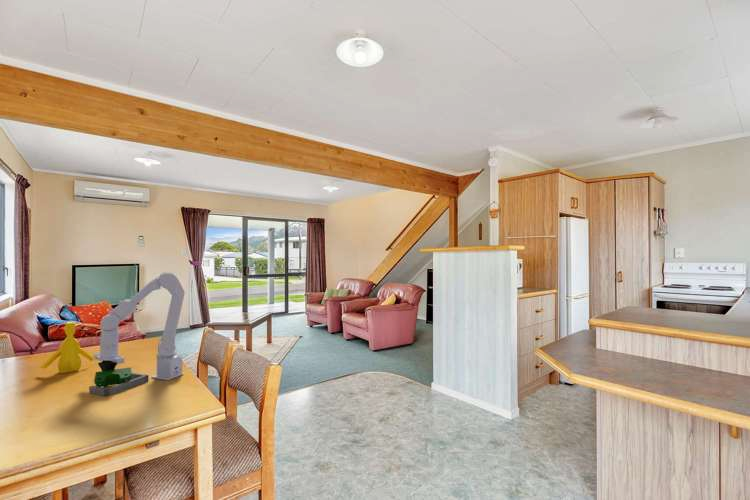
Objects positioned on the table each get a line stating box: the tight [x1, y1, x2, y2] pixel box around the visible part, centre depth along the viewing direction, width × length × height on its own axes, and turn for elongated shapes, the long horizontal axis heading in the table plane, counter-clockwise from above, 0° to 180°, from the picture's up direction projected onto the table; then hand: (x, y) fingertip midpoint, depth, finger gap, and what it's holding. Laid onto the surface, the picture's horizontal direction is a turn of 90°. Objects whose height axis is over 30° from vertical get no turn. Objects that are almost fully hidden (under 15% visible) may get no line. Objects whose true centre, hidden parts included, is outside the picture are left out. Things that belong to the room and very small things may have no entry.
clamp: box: [93, 367, 132, 388], centre depth 136 cm, size 12×6×9 cm, turn 114°
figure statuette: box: [41, 321, 95, 374], centre depth 154 cm, size 18×8×22 cm, turn 135°
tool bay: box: [88, 371, 149, 398], centre depth 137 cm, size 9×16×2 cm, turn 161°
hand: (108, 379), depth 138 cm, fingers closed, pressing on clamp
